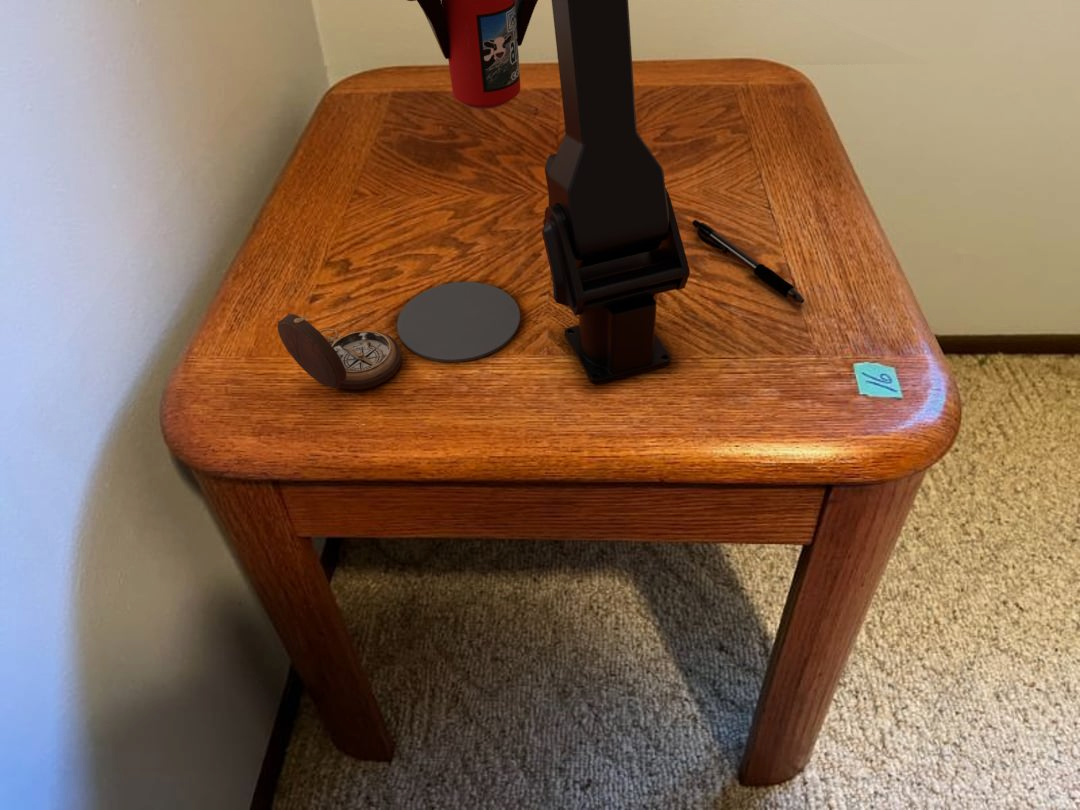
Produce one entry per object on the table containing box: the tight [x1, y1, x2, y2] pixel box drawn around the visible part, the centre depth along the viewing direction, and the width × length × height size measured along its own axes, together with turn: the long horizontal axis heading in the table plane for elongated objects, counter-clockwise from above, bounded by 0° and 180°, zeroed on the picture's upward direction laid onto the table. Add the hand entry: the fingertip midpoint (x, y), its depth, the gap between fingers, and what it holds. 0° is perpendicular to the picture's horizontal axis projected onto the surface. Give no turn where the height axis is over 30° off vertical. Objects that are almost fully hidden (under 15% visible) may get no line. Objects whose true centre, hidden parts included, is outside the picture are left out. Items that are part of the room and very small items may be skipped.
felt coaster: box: [396, 281, 521, 363], centre depth 69 cm, size 10×10×1 cm
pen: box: [691, 219, 805, 304], centre depth 72 cm, size 14×2×1 cm, turn 30°
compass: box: [277, 312, 403, 390], centre depth 63 cm, size 8×8×7 cm
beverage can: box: [441, 0, 521, 110], centre depth 80 cm, size 7×7×12 cm
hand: (482, 50), depth 81 cm, fingers closed on beverage can, 7 cm apart
